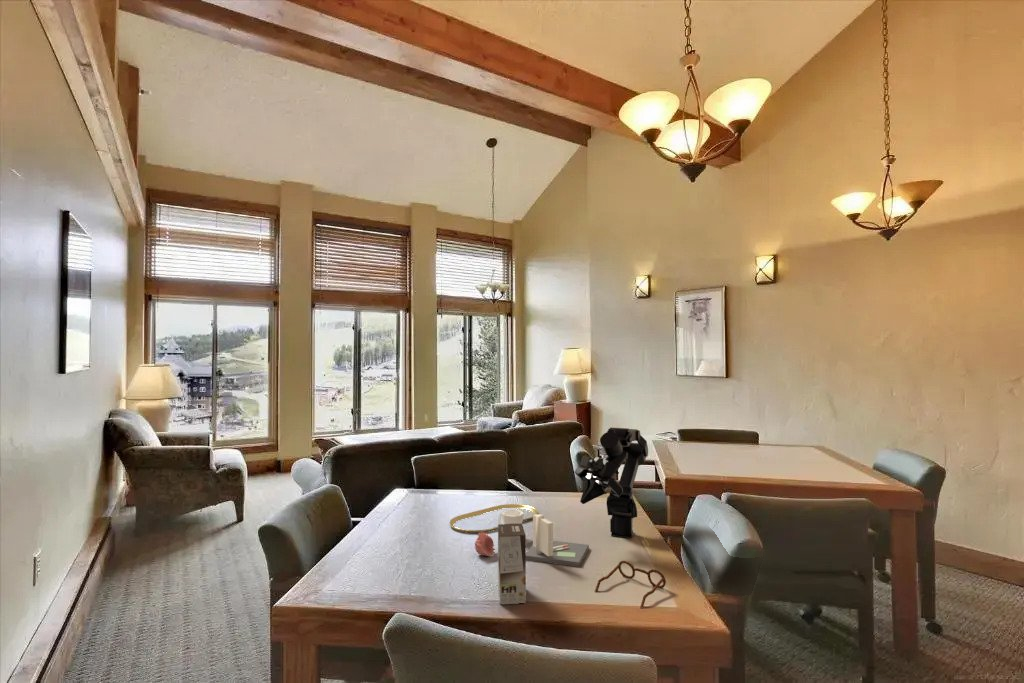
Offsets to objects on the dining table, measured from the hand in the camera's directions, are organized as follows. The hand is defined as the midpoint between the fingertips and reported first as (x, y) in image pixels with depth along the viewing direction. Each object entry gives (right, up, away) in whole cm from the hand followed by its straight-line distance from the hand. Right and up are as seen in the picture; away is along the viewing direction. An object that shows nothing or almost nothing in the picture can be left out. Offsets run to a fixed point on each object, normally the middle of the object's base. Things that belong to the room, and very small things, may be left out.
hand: (581, 502), depth 157 cm
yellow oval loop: (-27, -15, +27) cm, 41 cm away
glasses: (+8, -13, -29) cm, 33 cm away
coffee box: (-21, -13, -31) cm, 40 cm away
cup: (-22, -14, +10) cm, 28 cm away
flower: (-29, -14, -5) cm, 33 cm away
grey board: (-8, -13, -5) cm, 16 cm away
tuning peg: (-9, -12, -7) cm, 16 cm away
